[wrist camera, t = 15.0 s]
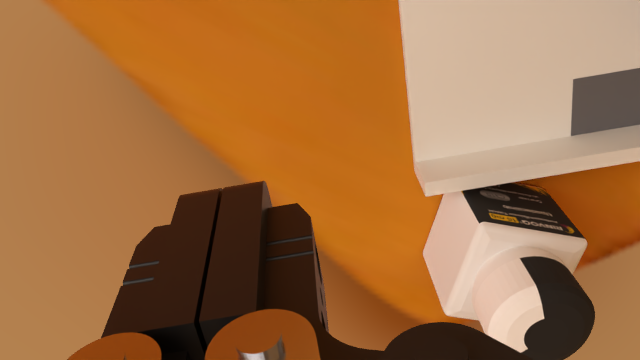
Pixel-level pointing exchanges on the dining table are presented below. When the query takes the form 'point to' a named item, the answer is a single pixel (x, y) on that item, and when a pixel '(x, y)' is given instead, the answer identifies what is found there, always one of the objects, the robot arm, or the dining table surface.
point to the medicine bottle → (511, 268)
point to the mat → (605, 102)
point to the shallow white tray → (511, 87)
